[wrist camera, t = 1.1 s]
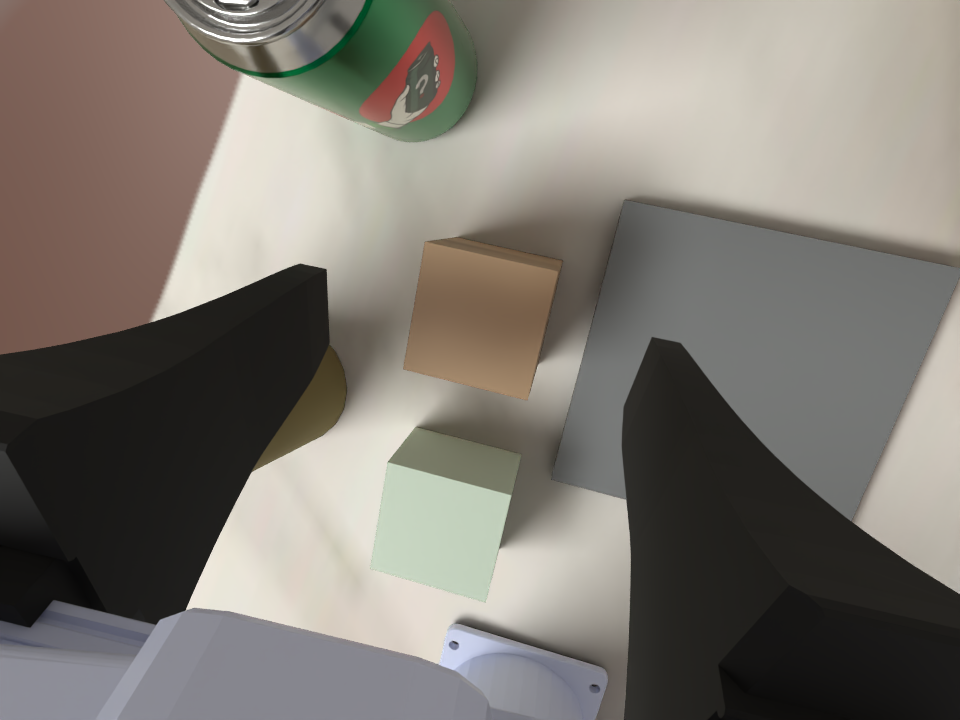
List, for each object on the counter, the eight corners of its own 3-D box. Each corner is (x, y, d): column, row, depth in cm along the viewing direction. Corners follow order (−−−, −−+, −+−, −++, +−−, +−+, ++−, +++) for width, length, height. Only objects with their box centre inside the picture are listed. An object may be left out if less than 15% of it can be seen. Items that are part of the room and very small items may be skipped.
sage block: (499, 547, 26) (485, 602, 23) (400, 519, 27) (369, 568, 23) (521, 452, 25) (511, 495, 21) (416, 425, 26) (387, 462, 22)
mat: (829, 547, 23) (836, 555, 23) (551, 473, 25) (551, 479, 24) (952, 267, 20) (963, 268, 20) (624, 200, 21) (625, 199, 21)
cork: (324, 306, 25) (136, 370, 14) (362, 431, 26) (214, 575, 15) (210, 334, 26) (-39, 410, 16) (251, 451, 27) (45, 596, 17)
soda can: (487, 7, 21) (371, -257, 9) (472, 150, 22) (356, 74, 11) (359, -1, 21) (104, -256, 10) (352, 138, 23) (120, 54, 11)
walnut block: (537, 364, 24) (527, 400, 19) (437, 339, 24) (403, 369, 20) (562, 260, 23) (558, 271, 18) (456, 237, 23) (424, 241, 18)
